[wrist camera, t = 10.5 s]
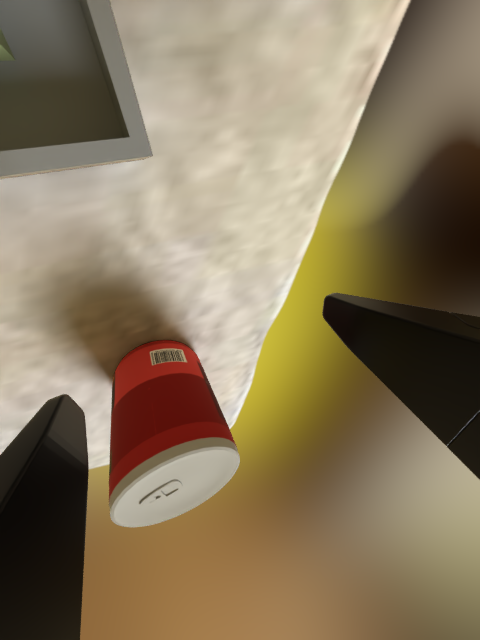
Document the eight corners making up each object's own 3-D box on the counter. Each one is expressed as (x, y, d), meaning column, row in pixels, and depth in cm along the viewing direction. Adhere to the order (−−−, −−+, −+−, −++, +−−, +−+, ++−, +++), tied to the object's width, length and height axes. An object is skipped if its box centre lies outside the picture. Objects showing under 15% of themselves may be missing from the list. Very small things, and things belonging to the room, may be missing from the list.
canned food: (91, 372, 19) (71, 524, 11) (170, 321, 20) (208, 429, 12) (148, 408, 24) (163, 532, 16) (210, 366, 25) (256, 465, 17)
